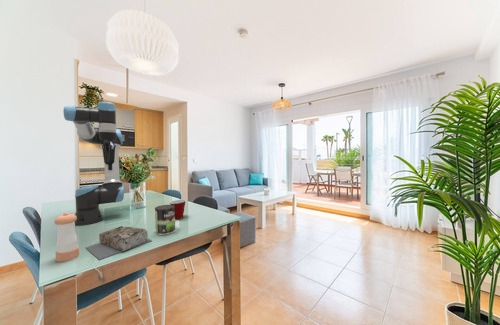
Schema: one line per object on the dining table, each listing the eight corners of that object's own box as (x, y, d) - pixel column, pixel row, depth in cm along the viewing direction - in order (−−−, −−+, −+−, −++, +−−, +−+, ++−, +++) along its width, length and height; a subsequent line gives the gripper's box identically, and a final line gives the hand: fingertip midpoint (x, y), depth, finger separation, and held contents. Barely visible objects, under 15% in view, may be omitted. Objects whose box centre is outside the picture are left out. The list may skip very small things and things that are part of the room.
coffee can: (179, 230, 114) (178, 206, 113) (163, 236, 105) (162, 210, 105) (167, 226, 119) (167, 203, 119) (151, 232, 111) (150, 207, 110)
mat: (85, 248, 93) (85, 247, 93) (135, 232, 111) (135, 232, 111) (99, 260, 82) (99, 259, 82) (151, 241, 100) (151, 240, 100)
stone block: (99, 246, 97) (123, 253, 88) (97, 232, 97) (121, 238, 88) (126, 234, 109) (150, 239, 100) (124, 222, 109) (148, 226, 99)
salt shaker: (83, 252, 89) (81, 210, 88) (69, 261, 81) (66, 215, 80) (66, 253, 88) (64, 210, 88) (50, 262, 81) (48, 216, 80)
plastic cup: (174, 215, 142) (173, 198, 141) (188, 215, 140) (188, 199, 140) (166, 220, 131) (165, 202, 130) (182, 220, 130) (181, 202, 129)
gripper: (95, 132, 106) (97, 176, 107) (103, 130, 98) (105, 177, 100) (111, 133, 112) (113, 174, 113) (120, 131, 104) (122, 176, 105)
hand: (109, 176), depth 106 cm, fingers closed
